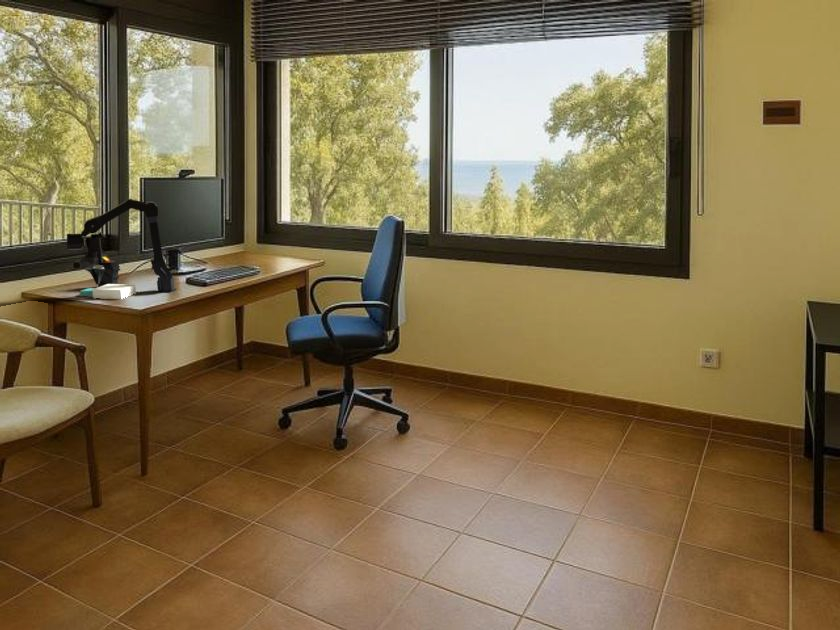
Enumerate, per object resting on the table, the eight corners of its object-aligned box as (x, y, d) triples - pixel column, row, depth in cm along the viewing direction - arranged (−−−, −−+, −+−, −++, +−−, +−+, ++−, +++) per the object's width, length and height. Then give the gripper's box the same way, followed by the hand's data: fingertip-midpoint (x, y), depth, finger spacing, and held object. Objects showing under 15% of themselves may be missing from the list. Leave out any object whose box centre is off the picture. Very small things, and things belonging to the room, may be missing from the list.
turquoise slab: (105, 292, 327) (104, 288, 327) (97, 295, 321) (96, 291, 321) (89, 292, 329) (88, 288, 328) (80, 295, 323) (80, 291, 322)
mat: (107, 292, 329) (107, 292, 329) (96, 297, 321) (96, 296, 321) (87, 292, 331) (87, 291, 331) (74, 296, 322) (74, 295, 322)
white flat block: (136, 293, 328) (135, 284, 327) (121, 299, 316) (120, 290, 315) (109, 292, 330) (108, 283, 329) (93, 298, 318) (92, 289, 317)
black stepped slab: (99, 282, 346) (105, 254, 339) (117, 296, 341) (123, 268, 335) (92, 283, 343) (98, 255, 336) (110, 298, 338) (116, 270, 332)
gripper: (62, 250, 313) (66, 287, 316) (103, 251, 310) (107, 288, 313) (78, 247, 323) (82, 282, 327) (118, 248, 320) (121, 283, 324)
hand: (97, 284), depth 322 cm, fingers closed
